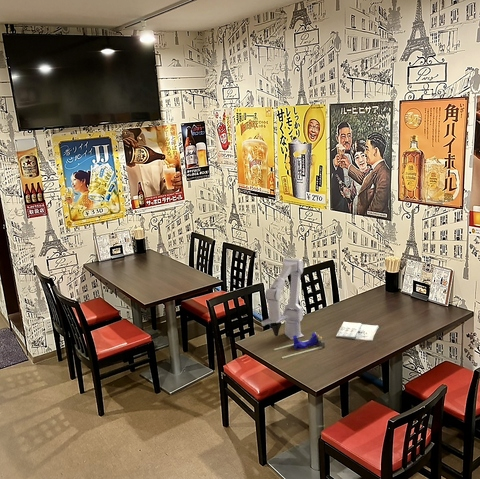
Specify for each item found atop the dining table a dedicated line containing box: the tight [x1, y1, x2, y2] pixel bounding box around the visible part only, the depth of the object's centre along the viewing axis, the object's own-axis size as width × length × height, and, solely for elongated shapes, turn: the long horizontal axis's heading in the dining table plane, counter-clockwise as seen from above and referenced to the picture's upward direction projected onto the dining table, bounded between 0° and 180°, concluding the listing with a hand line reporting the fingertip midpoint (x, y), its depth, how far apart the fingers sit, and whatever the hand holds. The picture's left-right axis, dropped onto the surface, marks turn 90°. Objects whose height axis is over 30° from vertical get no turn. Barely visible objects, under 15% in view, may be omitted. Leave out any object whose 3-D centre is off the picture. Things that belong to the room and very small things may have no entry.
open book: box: [335, 321, 380, 342], centre depth 273 cm, size 19×20×2 cm
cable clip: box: [292, 332, 318, 350], centre depth 262 cm, size 12×4×6 cm, turn 97°
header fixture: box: [273, 332, 326, 360], centre depth 260 cm, size 11×24×5 cm, turn 110°
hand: (276, 335), depth 257 cm, fingers closed
